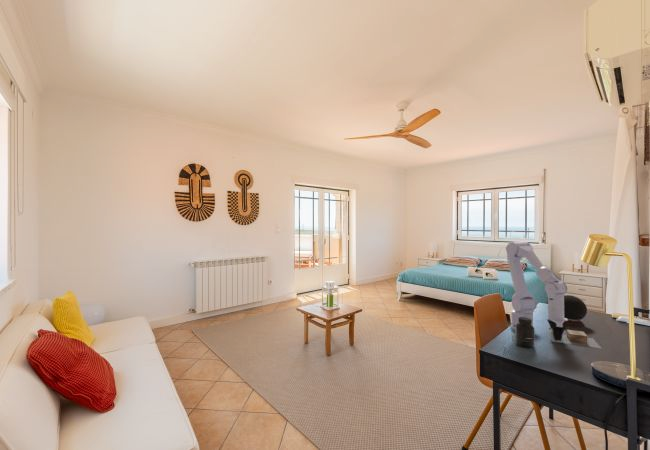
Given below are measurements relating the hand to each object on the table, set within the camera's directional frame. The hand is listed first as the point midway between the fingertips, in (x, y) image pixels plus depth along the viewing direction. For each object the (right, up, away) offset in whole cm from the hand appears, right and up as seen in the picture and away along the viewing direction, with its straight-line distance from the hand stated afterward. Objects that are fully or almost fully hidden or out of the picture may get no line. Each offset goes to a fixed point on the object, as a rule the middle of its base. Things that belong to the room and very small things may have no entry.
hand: (556, 338), depth 135 cm
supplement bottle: (-17, -2, -4) cm, 18 cm away
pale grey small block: (0, -1, 0) cm, 1 cm away
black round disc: (+25, -1, +22) cm, 33 cm away
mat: (+9, -1, 0) cm, 9 cm away
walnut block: (+9, -1, 0) cm, 9 cm away
